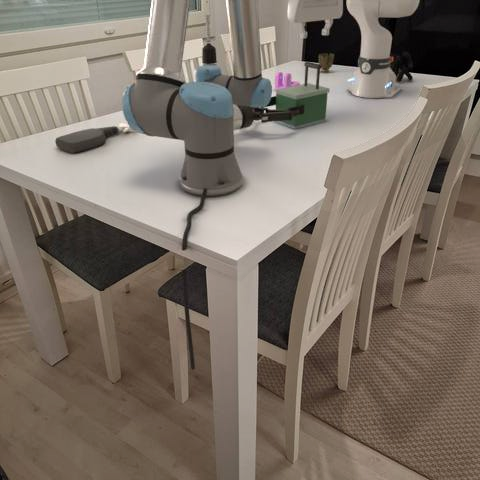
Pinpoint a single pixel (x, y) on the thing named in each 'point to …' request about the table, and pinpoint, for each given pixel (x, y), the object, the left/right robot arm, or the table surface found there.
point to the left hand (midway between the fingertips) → (289, 104)
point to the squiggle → (401, 66)
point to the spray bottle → (88, 138)
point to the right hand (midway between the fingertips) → (314, 36)
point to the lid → (305, 86)
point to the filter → (208, 48)
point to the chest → (312, 110)
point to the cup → (326, 61)
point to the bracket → (287, 81)
